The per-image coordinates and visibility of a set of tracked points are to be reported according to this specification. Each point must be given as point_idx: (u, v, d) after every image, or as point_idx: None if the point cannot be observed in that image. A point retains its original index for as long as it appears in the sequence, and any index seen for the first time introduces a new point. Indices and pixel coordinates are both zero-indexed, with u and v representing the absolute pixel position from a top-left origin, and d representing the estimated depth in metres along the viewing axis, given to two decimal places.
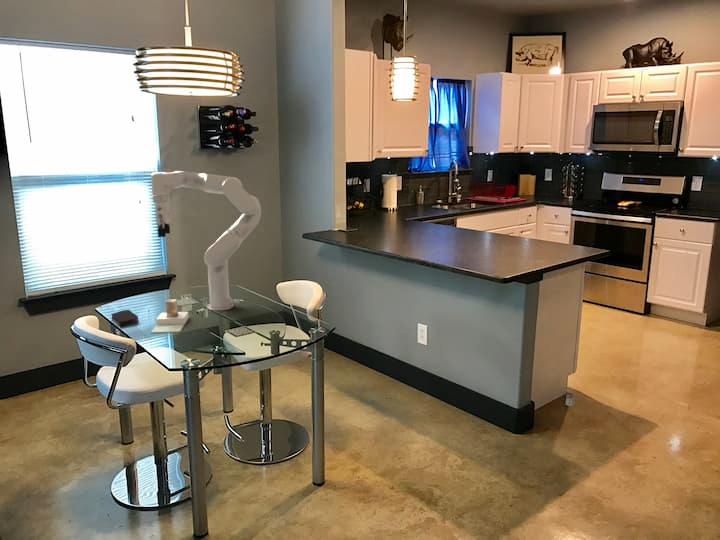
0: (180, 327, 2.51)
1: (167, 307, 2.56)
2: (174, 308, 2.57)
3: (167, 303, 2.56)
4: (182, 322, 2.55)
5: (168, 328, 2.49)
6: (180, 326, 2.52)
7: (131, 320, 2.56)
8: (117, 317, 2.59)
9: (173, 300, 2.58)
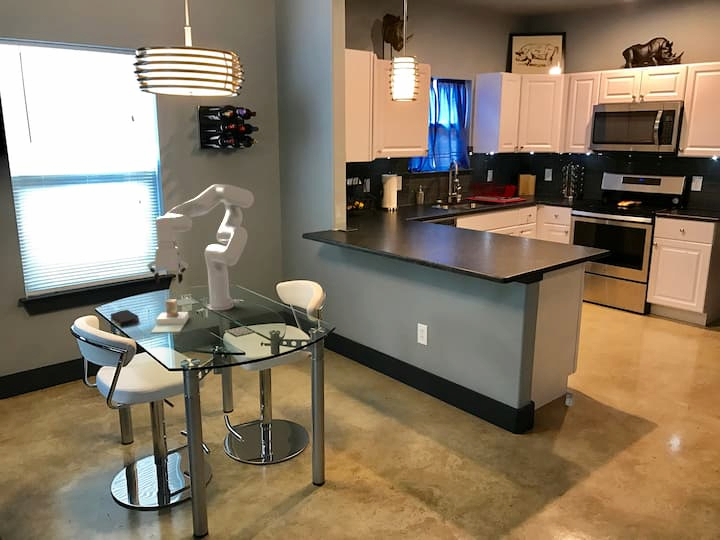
0: (180, 327, 2.51)
1: (167, 307, 2.56)
2: (174, 308, 2.57)
3: (167, 303, 2.56)
4: (182, 322, 2.55)
5: (168, 328, 2.49)
6: (180, 326, 2.52)
7: (132, 320, 2.56)
8: (117, 317, 2.59)
9: (173, 300, 2.58)
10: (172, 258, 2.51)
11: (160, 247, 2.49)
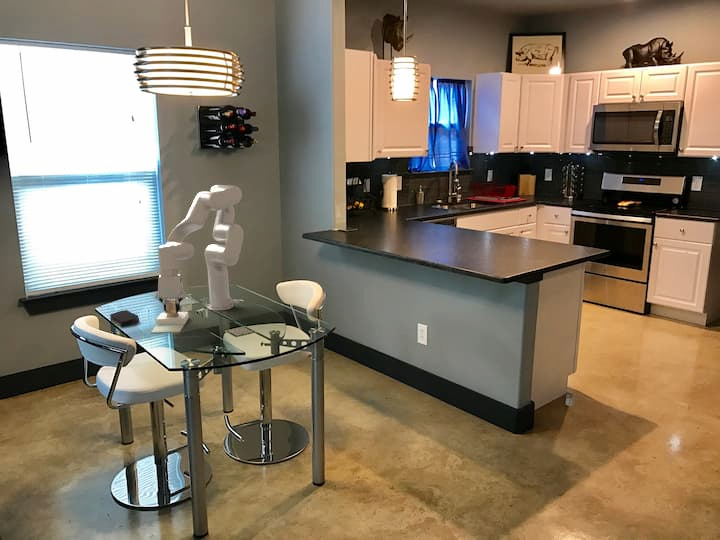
0: (180, 327, 2.51)
1: (167, 307, 2.56)
2: (174, 308, 2.57)
3: (167, 303, 2.56)
4: (182, 322, 2.55)
5: (168, 328, 2.49)
6: (180, 326, 2.52)
7: (132, 320, 2.56)
8: (117, 317, 2.59)
9: (173, 300, 2.58)
10: (175, 286, 2.54)
11: (163, 275, 2.52)
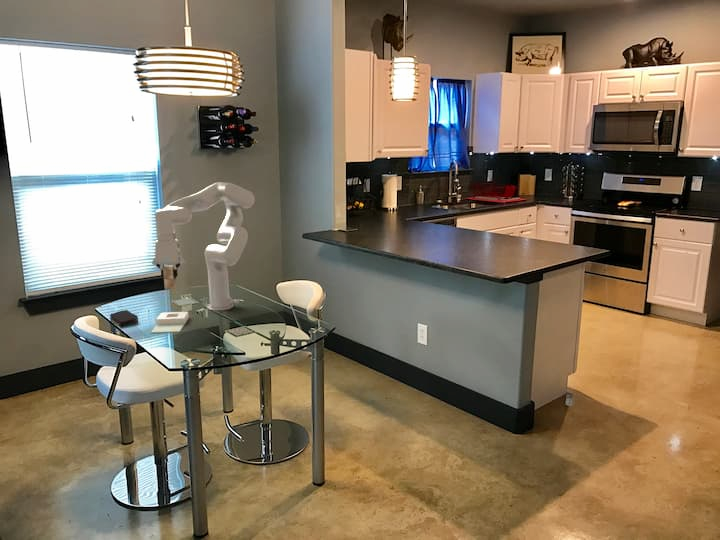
0: (180, 327, 2.51)
1: (165, 273, 2.53)
2: (171, 274, 2.53)
3: (164, 269, 2.52)
4: (182, 322, 2.55)
5: (168, 328, 2.49)
6: (180, 326, 2.52)
7: (131, 320, 2.56)
8: (116, 317, 2.59)
9: (170, 266, 2.54)
10: (172, 251, 2.51)
11: (160, 240, 2.48)
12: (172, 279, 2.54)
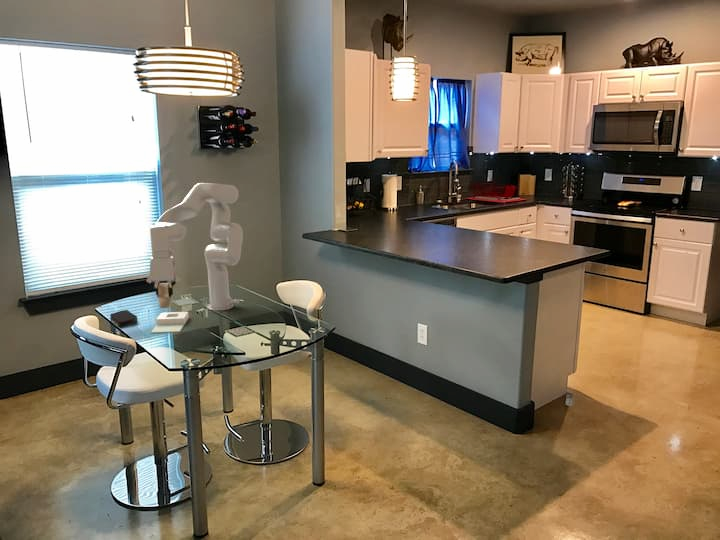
0: (180, 327, 2.51)
1: (160, 291, 2.44)
2: (167, 292, 2.44)
3: (159, 287, 2.43)
4: (182, 322, 2.55)
5: (168, 328, 2.49)
6: (180, 326, 2.52)
7: (130, 320, 2.55)
8: (116, 317, 2.59)
9: (166, 284, 2.45)
10: (167, 268, 2.42)
11: (155, 257, 2.39)
12: (167, 297, 2.45)
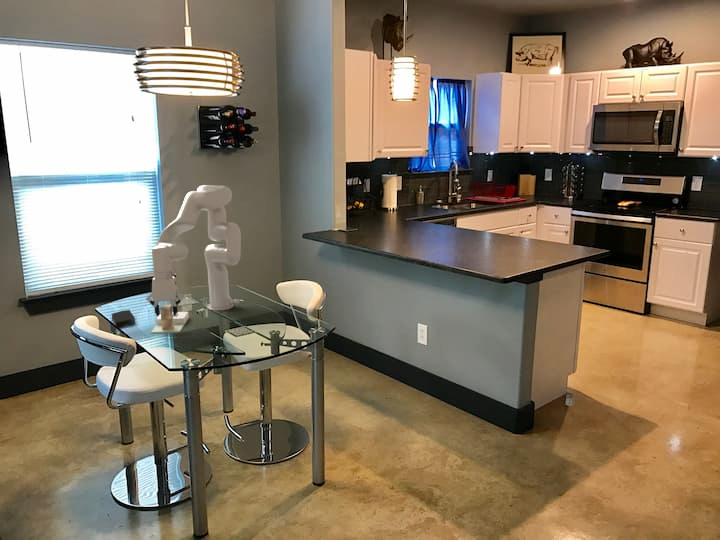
0: (180, 327, 2.51)
1: (162, 313, 2.46)
2: (169, 314, 2.47)
3: (162, 309, 2.46)
4: (182, 322, 2.55)
5: None
6: (180, 326, 2.52)
7: (127, 321, 2.55)
8: (115, 317, 2.59)
9: (168, 306, 2.48)
10: (169, 289, 2.44)
11: (157, 278, 2.41)
12: (169, 319, 2.47)
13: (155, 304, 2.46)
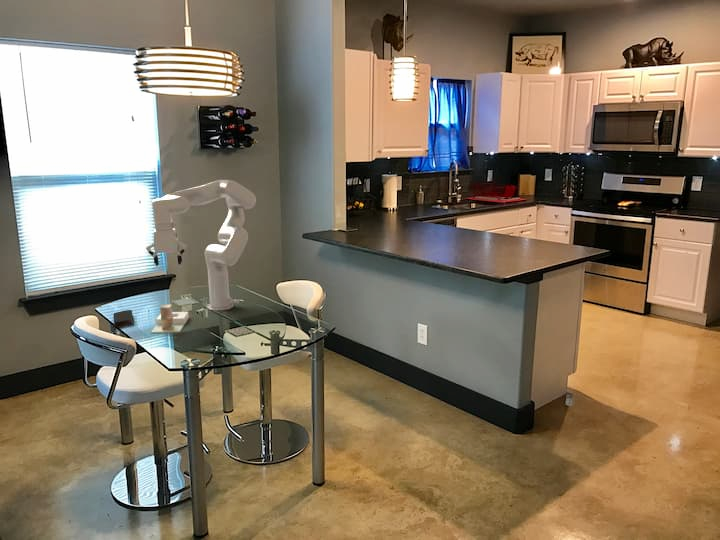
0: (180, 327, 2.51)
1: (162, 313, 2.46)
2: (169, 314, 2.47)
3: (162, 309, 2.46)
4: (182, 322, 2.55)
5: None
6: (180, 326, 2.52)
7: (125, 321, 2.54)
8: (115, 317, 2.59)
9: (168, 306, 2.48)
10: (170, 240, 2.51)
11: (158, 229, 2.49)
12: (169, 319, 2.47)
13: (154, 254, 2.53)
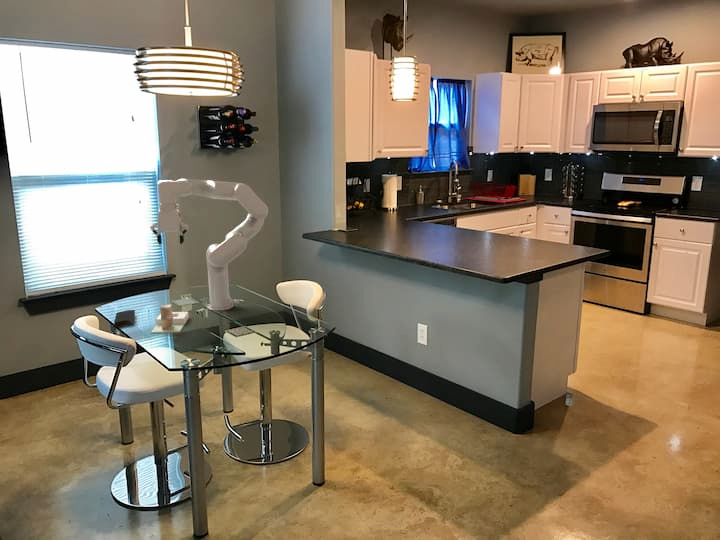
0: (180, 327, 2.51)
1: (162, 313, 2.46)
2: (169, 314, 2.47)
3: (162, 309, 2.46)
4: (182, 322, 2.55)
5: None
6: (180, 326, 2.52)
7: (125, 321, 2.54)
8: (117, 317, 2.60)
9: (168, 306, 2.48)
10: (173, 220, 2.64)
11: (162, 209, 2.62)
12: (169, 319, 2.47)
13: (158, 233, 2.66)
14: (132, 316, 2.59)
